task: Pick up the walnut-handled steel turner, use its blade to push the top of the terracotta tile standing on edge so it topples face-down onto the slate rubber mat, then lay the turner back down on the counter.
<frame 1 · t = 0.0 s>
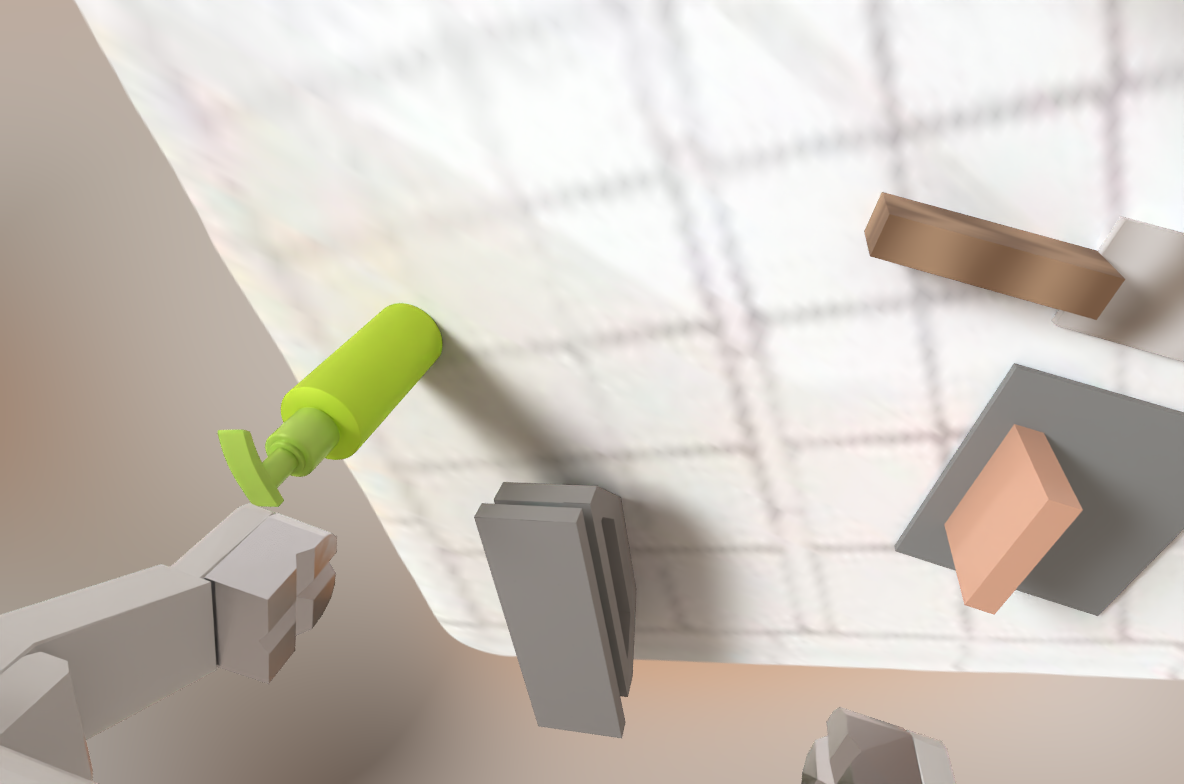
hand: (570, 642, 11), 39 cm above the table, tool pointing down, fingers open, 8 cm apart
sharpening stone: (588, 541, 65), on the table
turner: (1042, 258, 43), on the table
mat: (1058, 497, 51), on the table
soap dispenser: (408, 329, 57), on the table
tile: (991, 481, 51), point 1 cm above the table, touching mat
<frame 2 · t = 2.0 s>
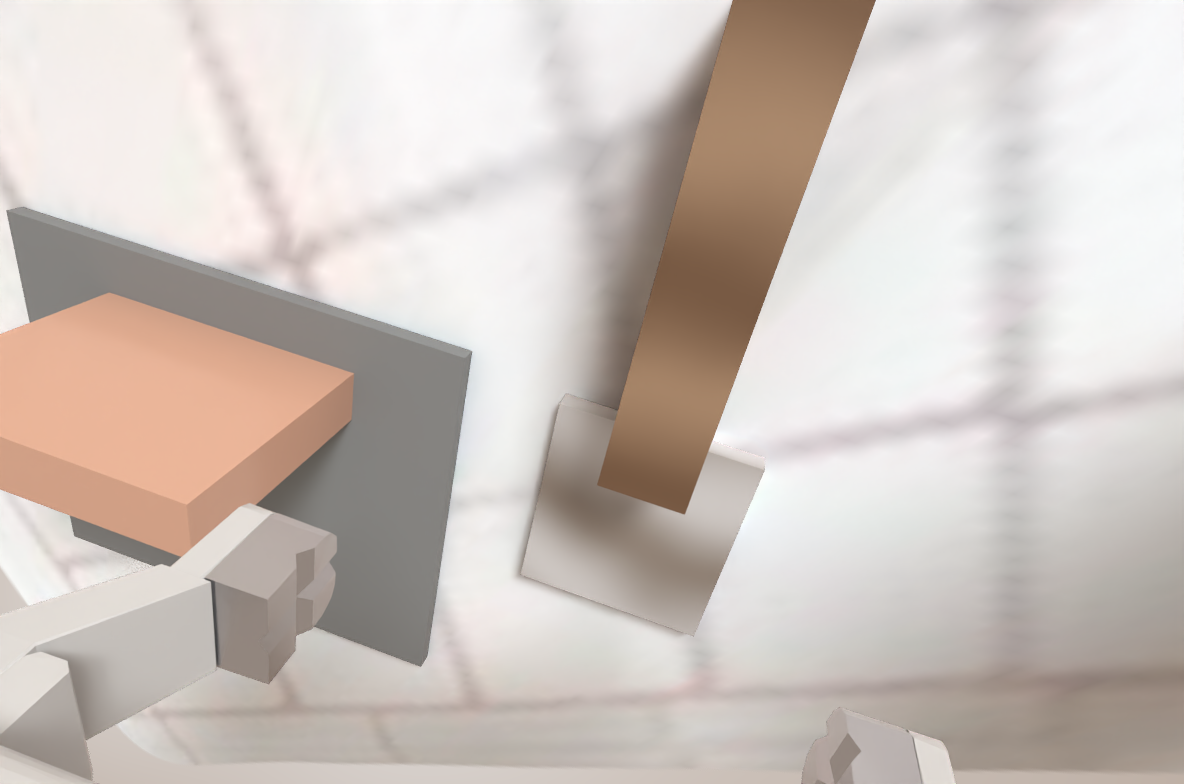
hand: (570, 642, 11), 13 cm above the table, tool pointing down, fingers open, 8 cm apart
turner: (685, 360, 22), on the table
mat: (245, 454, 29), on the table
tile: (230, 355, 26), point 1 cm above the table, touching mat
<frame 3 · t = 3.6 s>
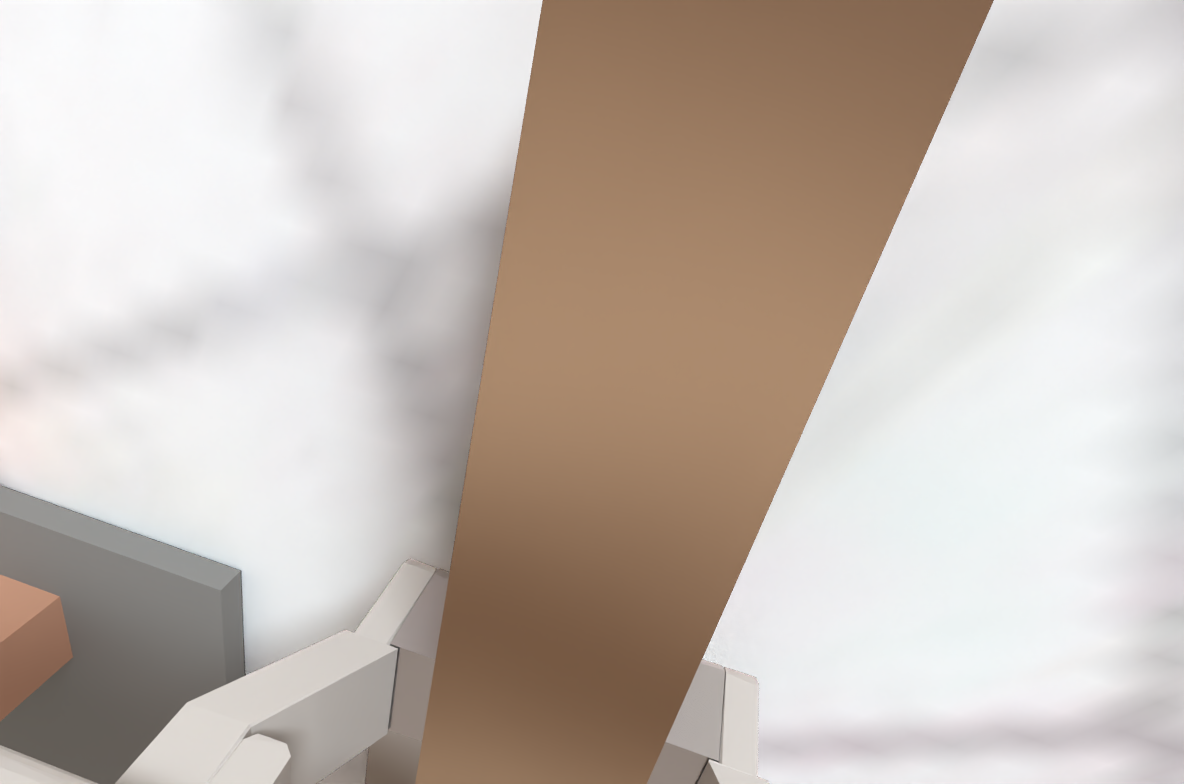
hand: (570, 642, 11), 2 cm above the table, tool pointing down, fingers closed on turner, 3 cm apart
turner: (582, 611, 13), on the table, touching gripper
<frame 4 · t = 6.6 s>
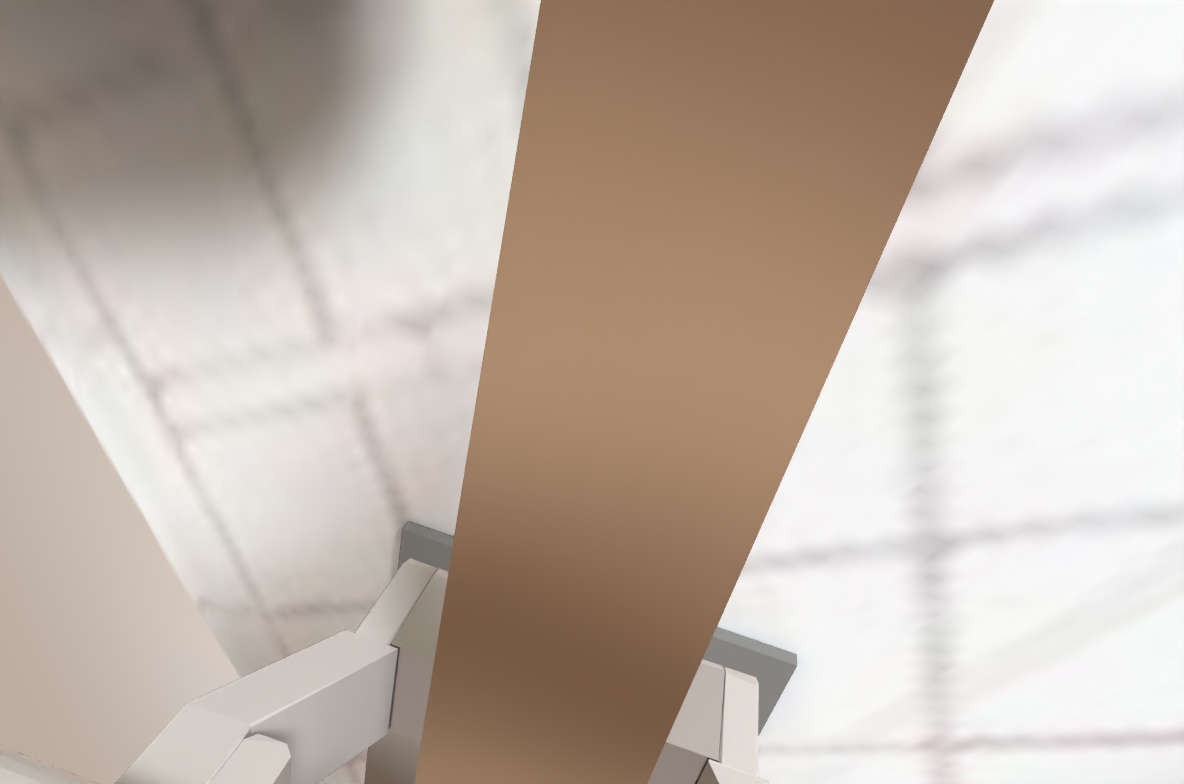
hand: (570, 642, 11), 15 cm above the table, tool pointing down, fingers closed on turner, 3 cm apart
turner: (581, 616, 13), point 14 cm above the table, touching gripper
mat: (561, 700, 35), on the table
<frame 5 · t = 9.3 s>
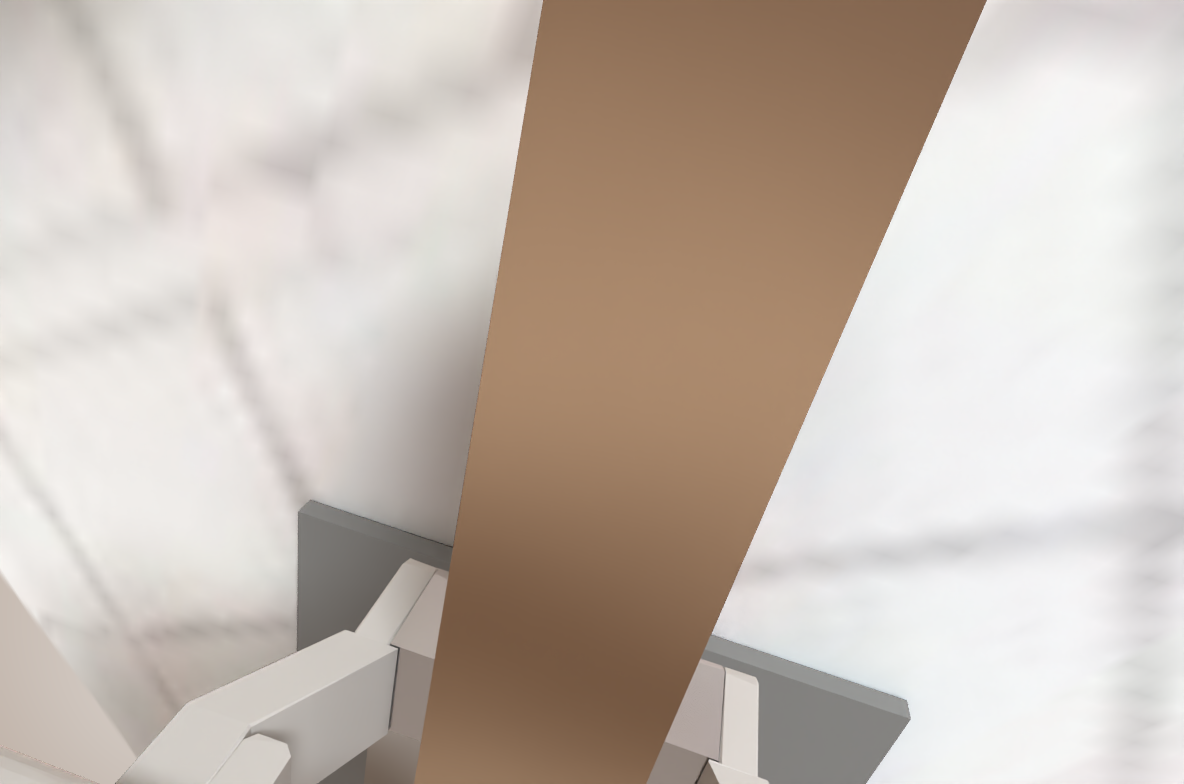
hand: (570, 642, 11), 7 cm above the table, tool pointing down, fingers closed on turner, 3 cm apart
turner: (581, 616, 13), point 6 cm above the table, touching gripper
mat: (545, 760, 24), on the table
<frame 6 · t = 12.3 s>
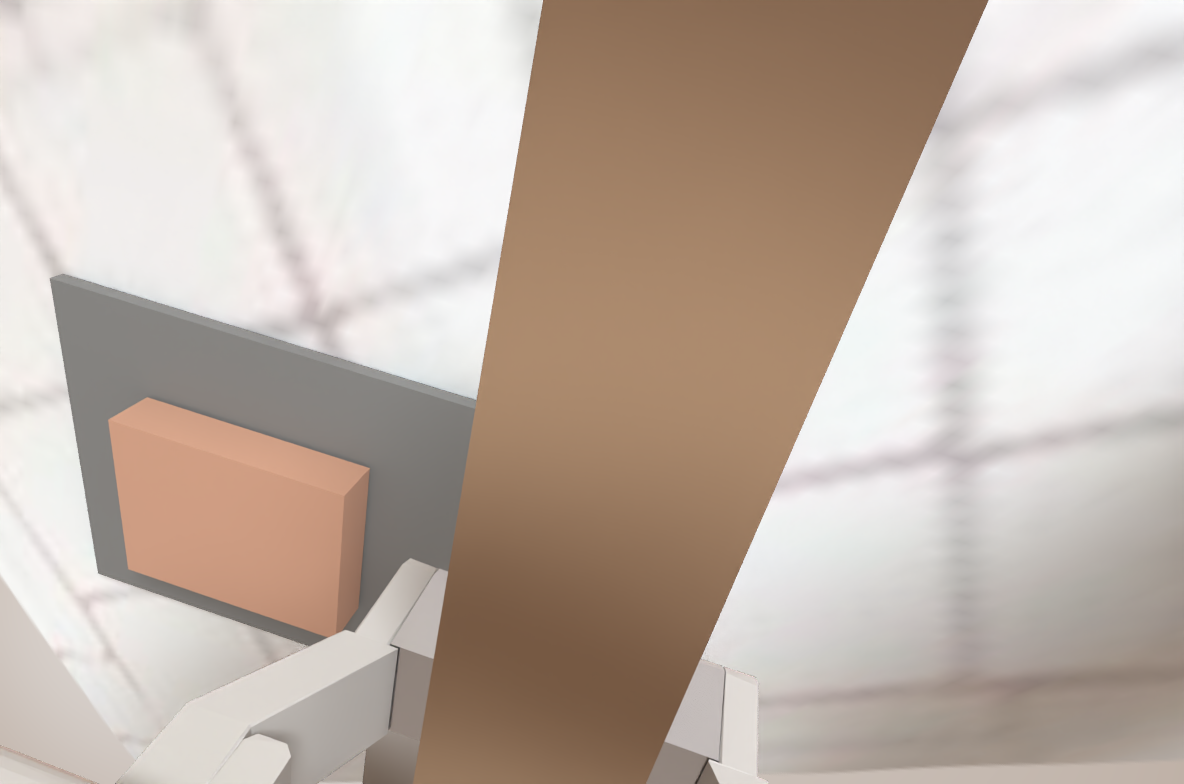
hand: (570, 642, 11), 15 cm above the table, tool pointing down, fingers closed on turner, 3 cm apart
turner: (580, 618, 13), point 13 cm above the table, touching gripper
mat: (268, 495, 31), on the table
tile: (241, 444, 28), point 2 cm above the table, tilted 90°, touching mat
when the fingers open (2 cm above the table, at t = 15.1 s): turner stays where it is, on the table.
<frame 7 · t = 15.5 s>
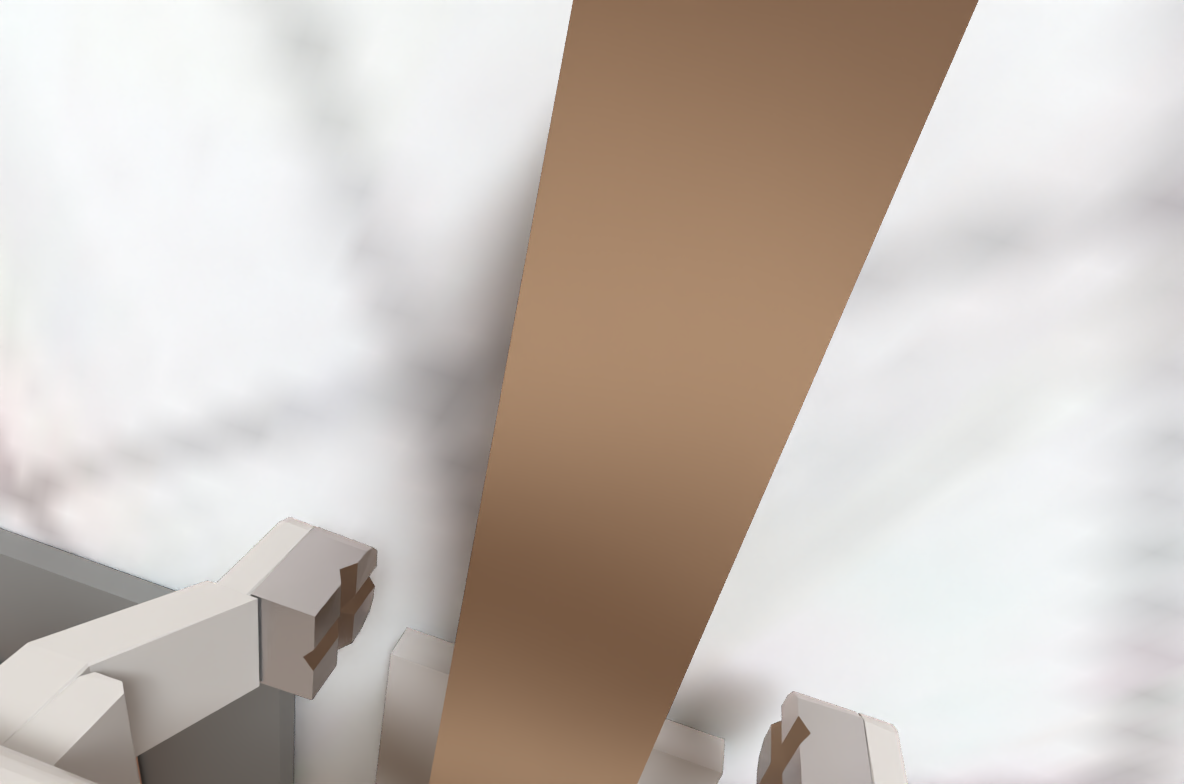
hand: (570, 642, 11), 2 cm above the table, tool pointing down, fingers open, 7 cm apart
turner: (589, 595, 13), on the table
mat: (13, 719, 20), on the table
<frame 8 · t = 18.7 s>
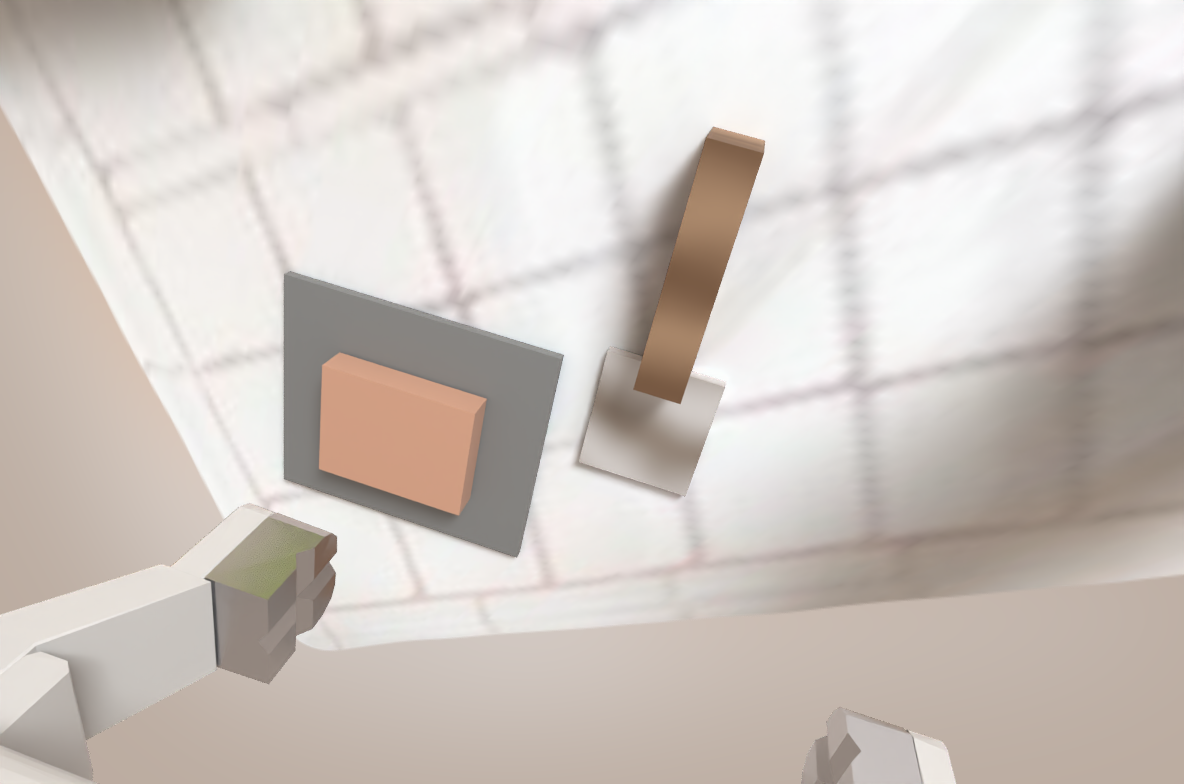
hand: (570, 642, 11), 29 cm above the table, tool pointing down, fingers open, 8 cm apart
turner: (679, 324, 39), on the table
mat: (412, 420, 46), on the table
tile: (405, 382, 43), point 2 cm above the table, tilted 90°, touching mat
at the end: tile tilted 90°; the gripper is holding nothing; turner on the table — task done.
